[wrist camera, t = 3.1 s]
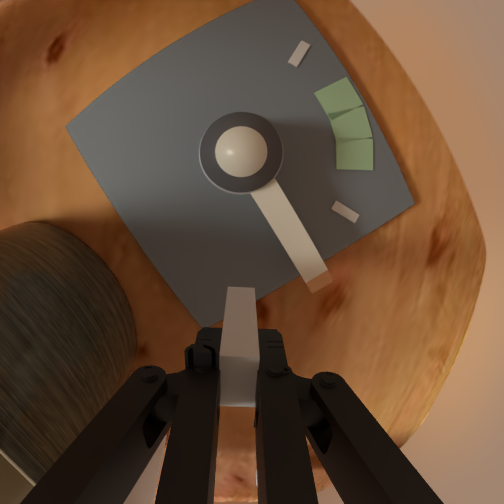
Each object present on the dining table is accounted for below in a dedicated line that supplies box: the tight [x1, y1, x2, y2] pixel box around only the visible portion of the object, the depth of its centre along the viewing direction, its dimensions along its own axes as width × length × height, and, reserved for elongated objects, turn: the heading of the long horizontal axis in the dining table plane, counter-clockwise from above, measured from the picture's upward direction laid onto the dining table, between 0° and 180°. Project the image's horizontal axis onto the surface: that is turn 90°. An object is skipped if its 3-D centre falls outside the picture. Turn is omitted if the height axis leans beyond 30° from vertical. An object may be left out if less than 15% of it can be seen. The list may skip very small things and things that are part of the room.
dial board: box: [65, 0, 415, 328], centre depth 23 cm, size 22×22×1 cm
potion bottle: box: [123, 435, 167, 504], centre depth 24 cm, size 8×8×18 cm
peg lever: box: [200, 112, 334, 294], centre depth 21 cm, size 13×5×6 cm, turn 32°
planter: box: [0, 222, 137, 504], centre depth 18 cm, size 22×22×20 cm
